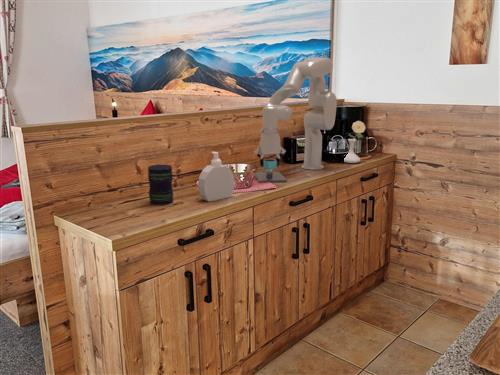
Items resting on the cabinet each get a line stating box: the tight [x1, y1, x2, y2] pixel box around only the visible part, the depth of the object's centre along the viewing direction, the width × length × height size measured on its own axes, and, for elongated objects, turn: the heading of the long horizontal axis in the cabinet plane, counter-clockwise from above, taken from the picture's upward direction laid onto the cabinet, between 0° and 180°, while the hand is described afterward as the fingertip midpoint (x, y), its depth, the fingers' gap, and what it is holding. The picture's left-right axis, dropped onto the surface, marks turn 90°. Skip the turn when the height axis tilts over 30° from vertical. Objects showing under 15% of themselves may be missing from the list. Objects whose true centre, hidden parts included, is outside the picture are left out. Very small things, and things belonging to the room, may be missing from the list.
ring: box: [261, 158, 278, 170], centre depth 235 cm, size 7×7×4 cm
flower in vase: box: [344, 120, 367, 164], centre depth 275 cm, size 13×11×25 cm
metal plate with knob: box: [254, 169, 288, 184], centre depth 236 cm, size 20×14×7 cm
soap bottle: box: [197, 151, 235, 202], centre depth 197 cm, size 16×5×20 cm, turn 130°
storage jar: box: [147, 164, 174, 206], centre depth 191 cm, size 10×10×15 cm
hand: (269, 166), depth 236 cm, fingers closed on ring, 7 cm apart
